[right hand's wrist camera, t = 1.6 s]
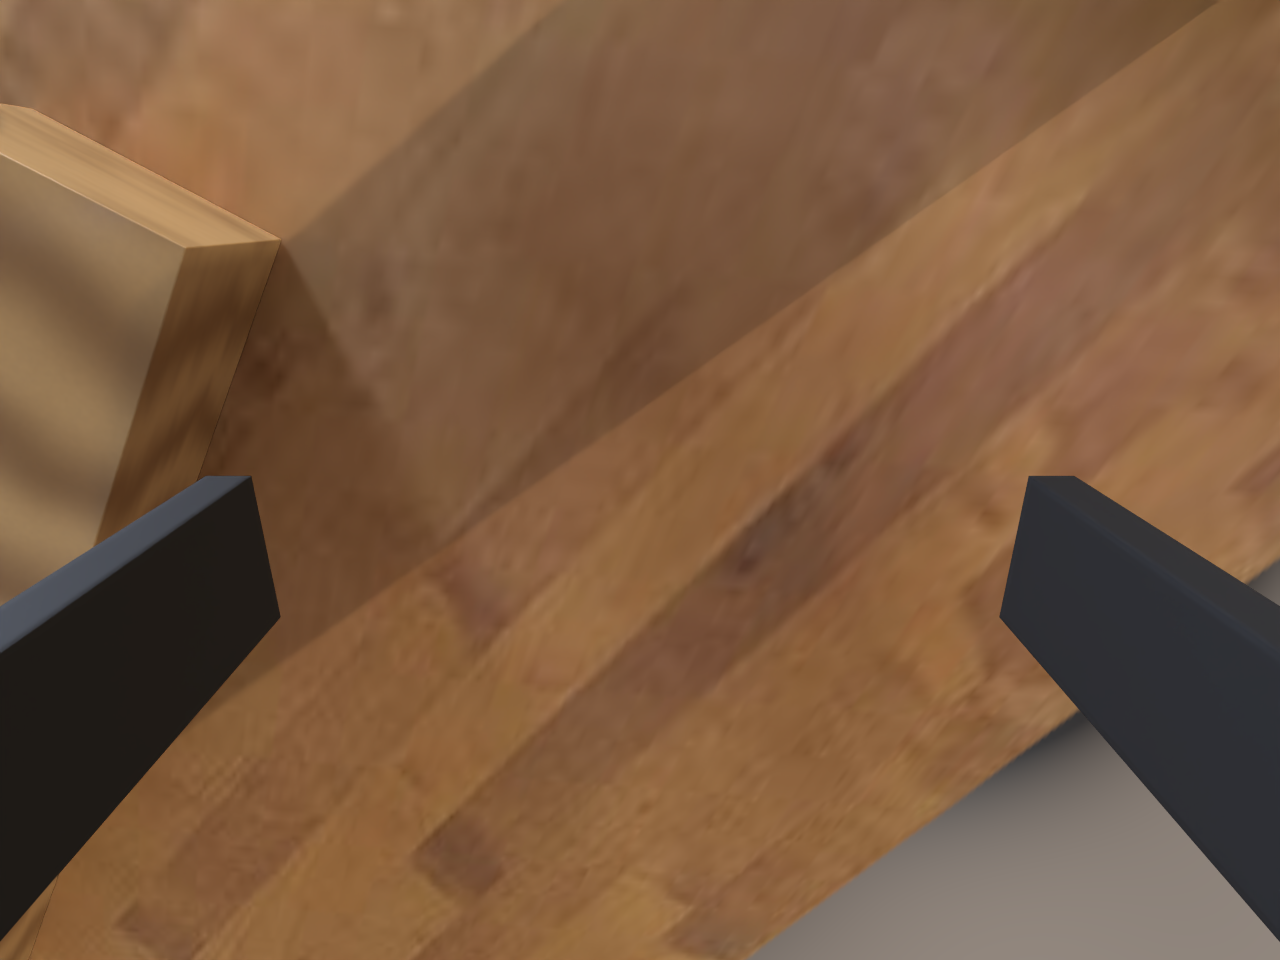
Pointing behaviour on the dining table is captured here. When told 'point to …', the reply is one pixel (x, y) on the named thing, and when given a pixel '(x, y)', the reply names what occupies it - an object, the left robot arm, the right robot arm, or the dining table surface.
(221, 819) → the dining table surface
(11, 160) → the slab
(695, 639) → the dining table surface
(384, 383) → the dining table surface
